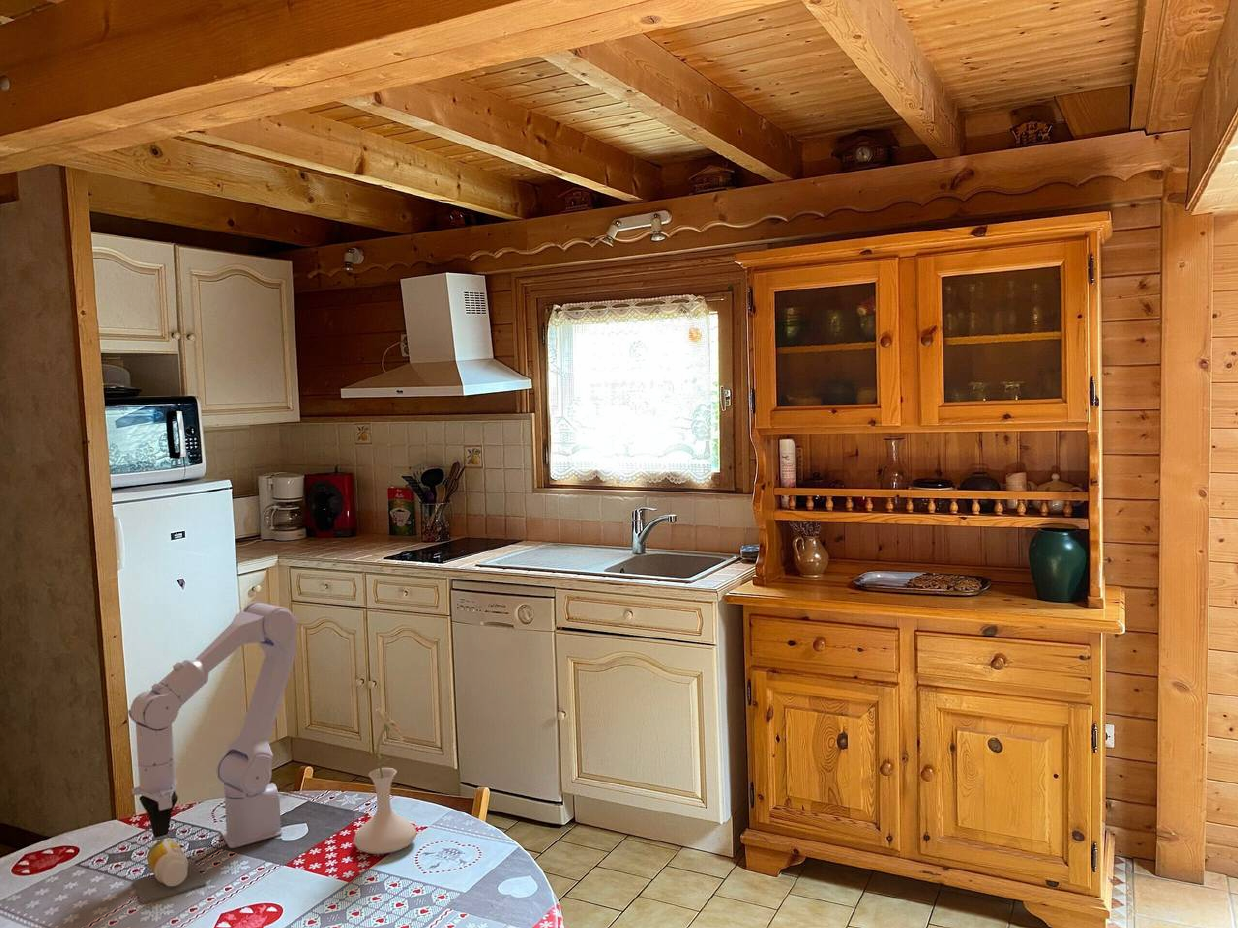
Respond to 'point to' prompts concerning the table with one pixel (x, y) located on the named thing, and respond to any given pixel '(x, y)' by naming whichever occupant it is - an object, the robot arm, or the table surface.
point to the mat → (156, 890)
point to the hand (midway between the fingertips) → (160, 834)
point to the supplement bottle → (168, 862)
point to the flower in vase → (384, 807)
